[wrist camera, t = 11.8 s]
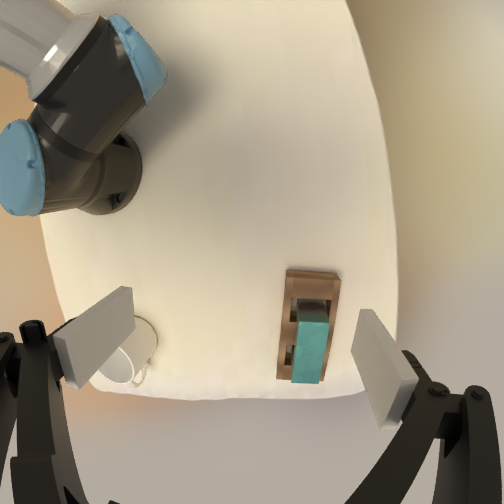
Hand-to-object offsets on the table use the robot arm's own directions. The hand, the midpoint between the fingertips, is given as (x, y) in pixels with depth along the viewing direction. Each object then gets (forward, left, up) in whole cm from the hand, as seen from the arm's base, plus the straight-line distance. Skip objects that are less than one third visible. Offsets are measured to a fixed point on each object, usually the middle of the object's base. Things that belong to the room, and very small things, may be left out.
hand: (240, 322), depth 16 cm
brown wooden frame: (+7, -14, -30) cm, 34 cm away
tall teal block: (+7, -14, -30) cm, 34 cm away
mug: (-23, -22, -30) cm, 44 cm away
